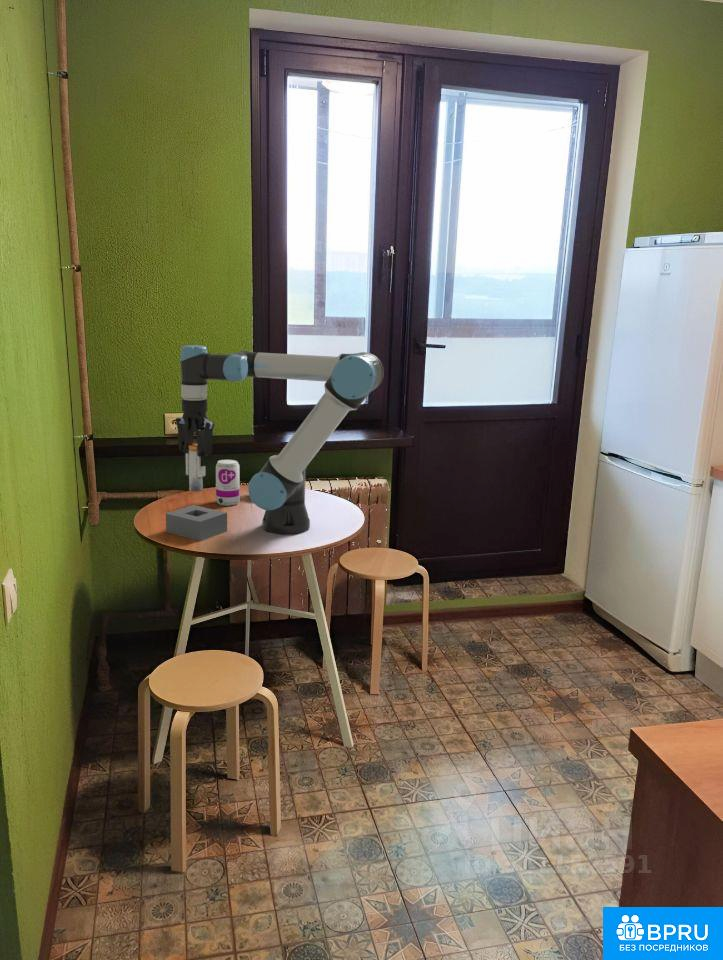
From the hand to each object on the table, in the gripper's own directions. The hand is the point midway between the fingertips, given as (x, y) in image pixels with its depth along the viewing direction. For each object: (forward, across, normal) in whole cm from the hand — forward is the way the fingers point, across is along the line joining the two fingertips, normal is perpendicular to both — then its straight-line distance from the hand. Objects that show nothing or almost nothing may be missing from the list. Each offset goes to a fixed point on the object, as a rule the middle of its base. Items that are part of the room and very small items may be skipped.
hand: (195, 475), depth 224 cm
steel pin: (+5, 0, 0) cm, 5 cm away
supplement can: (+18, +14, -30) cm, 38 cm away
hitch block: (+18, 0, 0) cm, 18 cm away
